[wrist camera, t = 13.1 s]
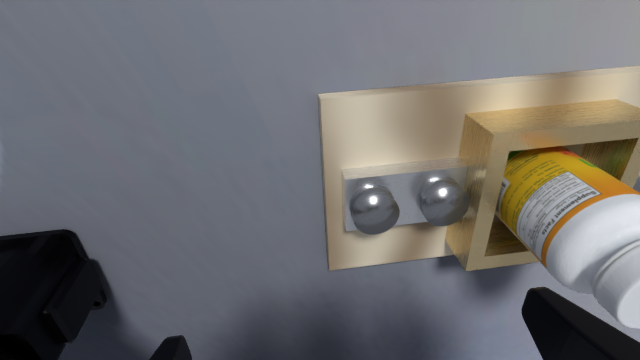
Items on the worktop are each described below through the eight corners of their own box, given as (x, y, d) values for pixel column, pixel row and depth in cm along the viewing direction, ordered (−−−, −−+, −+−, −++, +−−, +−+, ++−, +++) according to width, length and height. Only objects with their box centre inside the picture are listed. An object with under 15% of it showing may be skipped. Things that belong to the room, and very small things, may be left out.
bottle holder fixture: (343, 252, 24) (352, 285, 22) (340, 125, 20) (351, 149, 17) (661, 213, 26) (704, 240, 23) (726, 88, 21) (789, 105, 19)
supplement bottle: (576, 172, 23) (750, 288, 15) (504, 224, 25) (625, 356, 16) (540, 117, 21) (723, 218, 12) (463, 178, 22) (580, 304, 14)
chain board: (327, 260, 26) (329, 270, 25) (318, 94, 20) (320, 99, 19) (652, 219, 28) (665, 228, 27) (736, 57, 21) (756, 60, 21)
